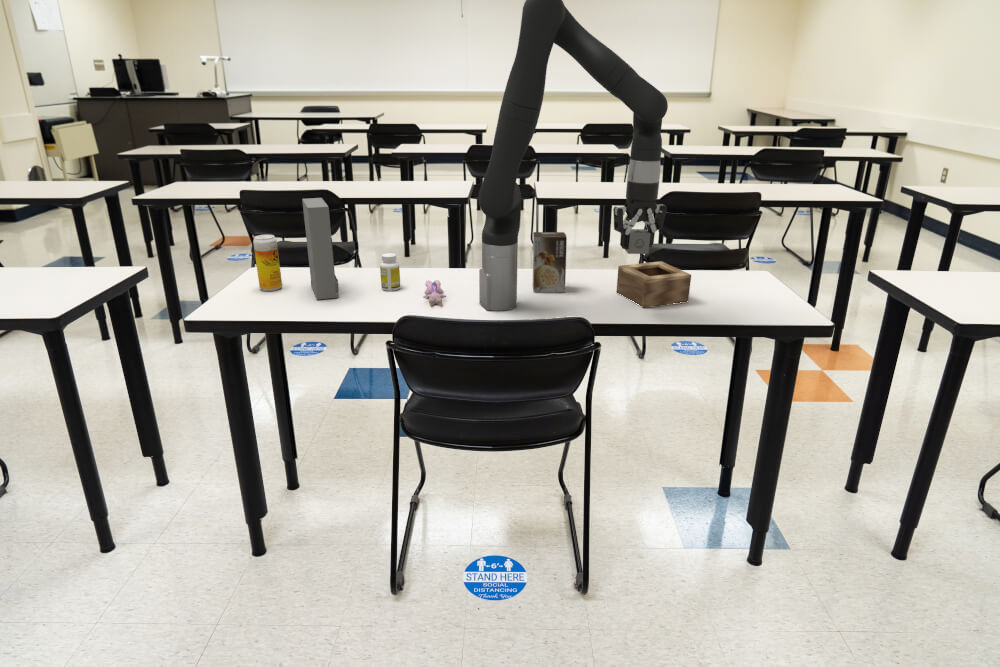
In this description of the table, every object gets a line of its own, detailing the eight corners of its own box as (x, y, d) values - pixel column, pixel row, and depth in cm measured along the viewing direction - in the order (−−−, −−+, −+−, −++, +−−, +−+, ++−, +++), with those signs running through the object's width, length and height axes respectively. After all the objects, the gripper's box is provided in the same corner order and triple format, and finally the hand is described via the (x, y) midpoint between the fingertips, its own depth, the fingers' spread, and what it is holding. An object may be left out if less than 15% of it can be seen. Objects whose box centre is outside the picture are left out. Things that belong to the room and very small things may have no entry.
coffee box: (563, 286, 187) (565, 231, 181) (565, 293, 181) (567, 237, 175) (531, 285, 187) (533, 231, 181) (532, 292, 181) (534, 236, 175)
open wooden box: (643, 308, 170) (646, 280, 167) (616, 292, 182) (618, 265, 179) (688, 302, 175) (691, 274, 172) (658, 287, 187) (661, 261, 184)
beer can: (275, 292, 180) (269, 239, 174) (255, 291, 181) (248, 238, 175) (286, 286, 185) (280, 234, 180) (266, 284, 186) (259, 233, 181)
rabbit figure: (448, 311, 171) (443, 285, 183) (447, 291, 168) (443, 266, 180) (424, 312, 170) (421, 286, 182) (423, 292, 167) (420, 267, 179)
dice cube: (628, 253, 158) (630, 233, 156) (624, 248, 163) (625, 229, 161) (648, 253, 158) (650, 233, 156) (643, 248, 163) (645, 229, 161)
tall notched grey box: (340, 298, 176) (331, 206, 166) (317, 300, 174) (307, 208, 164) (332, 283, 188) (324, 197, 178) (311, 286, 186) (301, 198, 176)
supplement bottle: (402, 285, 187) (400, 252, 183) (398, 291, 182) (397, 257, 178) (383, 285, 187) (381, 252, 183) (379, 291, 182) (377, 257, 178)
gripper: (625, 182, 148) (619, 253, 155) (678, 180, 153) (669, 249, 159) (609, 178, 155) (603, 246, 161) (660, 175, 160) (652, 242, 166)
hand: (636, 247), depth 160 cm, fingers closed on dice cube, 6 cm apart
